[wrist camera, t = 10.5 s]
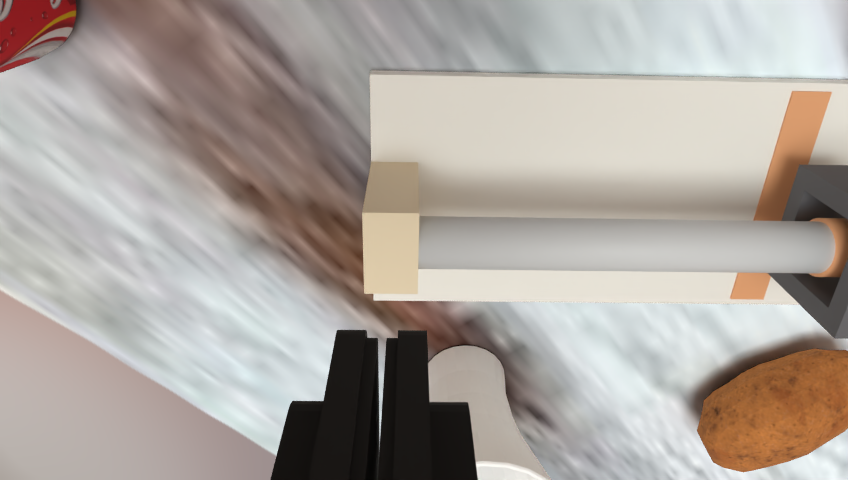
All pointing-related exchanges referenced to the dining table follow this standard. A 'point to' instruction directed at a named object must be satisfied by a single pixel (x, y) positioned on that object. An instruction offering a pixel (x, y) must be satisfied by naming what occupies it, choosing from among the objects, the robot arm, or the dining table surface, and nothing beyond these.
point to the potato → (777, 410)
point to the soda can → (33, 29)
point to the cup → (484, 412)
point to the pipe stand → (596, 187)
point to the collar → (809, 198)
